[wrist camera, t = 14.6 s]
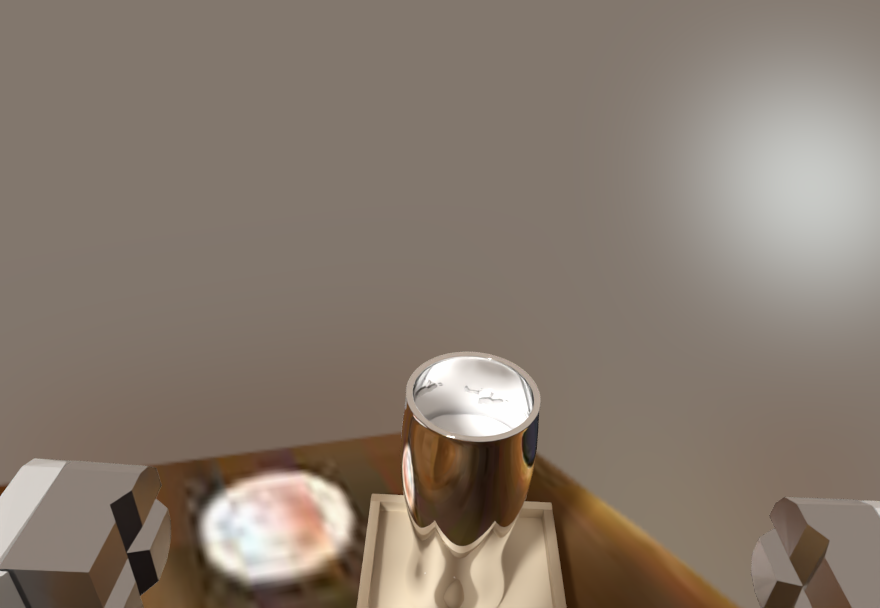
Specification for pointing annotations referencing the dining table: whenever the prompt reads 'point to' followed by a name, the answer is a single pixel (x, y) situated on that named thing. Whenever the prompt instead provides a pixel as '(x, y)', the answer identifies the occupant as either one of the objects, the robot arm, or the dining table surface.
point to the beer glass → (465, 474)
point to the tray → (525, 558)
